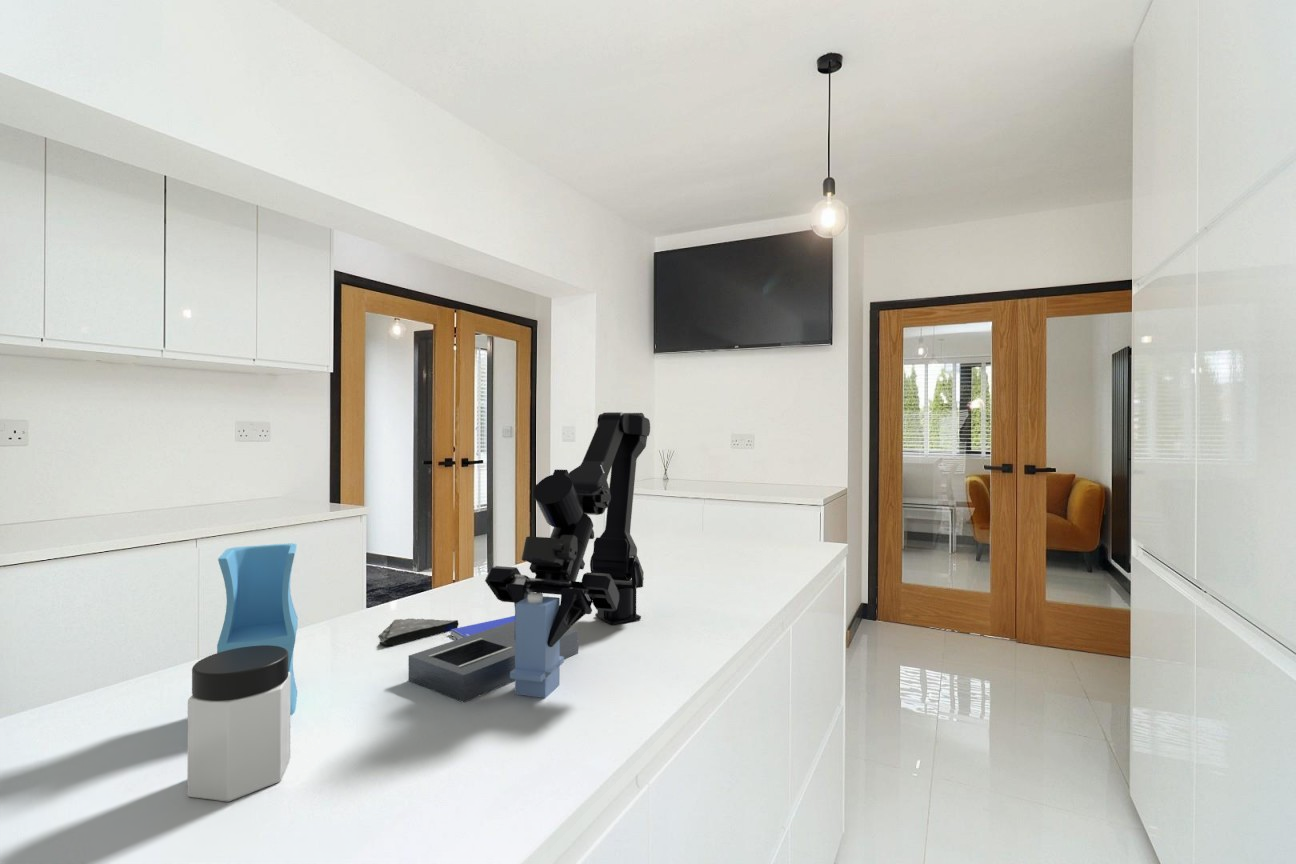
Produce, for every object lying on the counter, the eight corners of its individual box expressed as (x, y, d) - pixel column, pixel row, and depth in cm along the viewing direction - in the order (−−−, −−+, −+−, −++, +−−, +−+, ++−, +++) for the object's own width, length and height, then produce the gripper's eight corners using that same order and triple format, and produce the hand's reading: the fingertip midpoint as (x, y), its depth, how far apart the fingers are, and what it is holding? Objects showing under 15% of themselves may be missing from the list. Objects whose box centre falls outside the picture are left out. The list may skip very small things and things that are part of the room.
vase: (216, 730, 72) (217, 558, 72) (226, 703, 79) (227, 547, 79) (294, 715, 76) (295, 552, 76) (297, 691, 83) (297, 542, 83)
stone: (385, 652, 99) (384, 638, 99) (359, 639, 106) (358, 626, 106) (459, 632, 109) (459, 619, 109) (431, 621, 116) (431, 609, 116)
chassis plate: (524, 638, 104) (525, 616, 104) (578, 652, 97) (578, 630, 97) (408, 680, 86) (408, 654, 86) (463, 702, 79) (463, 674, 79)
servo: (535, 677, 88) (535, 585, 88) (563, 680, 86) (563, 588, 86) (509, 698, 81) (510, 598, 81) (540, 702, 79) (540, 601, 79)
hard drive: (472, 640, 100) (538, 624, 108) (450, 628, 106) (514, 614, 114) (472, 650, 100) (538, 633, 108) (450, 637, 106) (514, 622, 114)
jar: (275, 747, 68) (275, 638, 68) (305, 773, 63) (305, 655, 63) (175, 782, 61) (176, 661, 61) (200, 814, 56) (200, 682, 56)
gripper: (492, 510, 90) (446, 607, 79) (612, 515, 85) (581, 619, 74) (518, 554, 97) (480, 647, 87) (630, 561, 92) (604, 661, 82)
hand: (533, 643), depth 82 cm, fingers closed on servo, 4 cm apart
